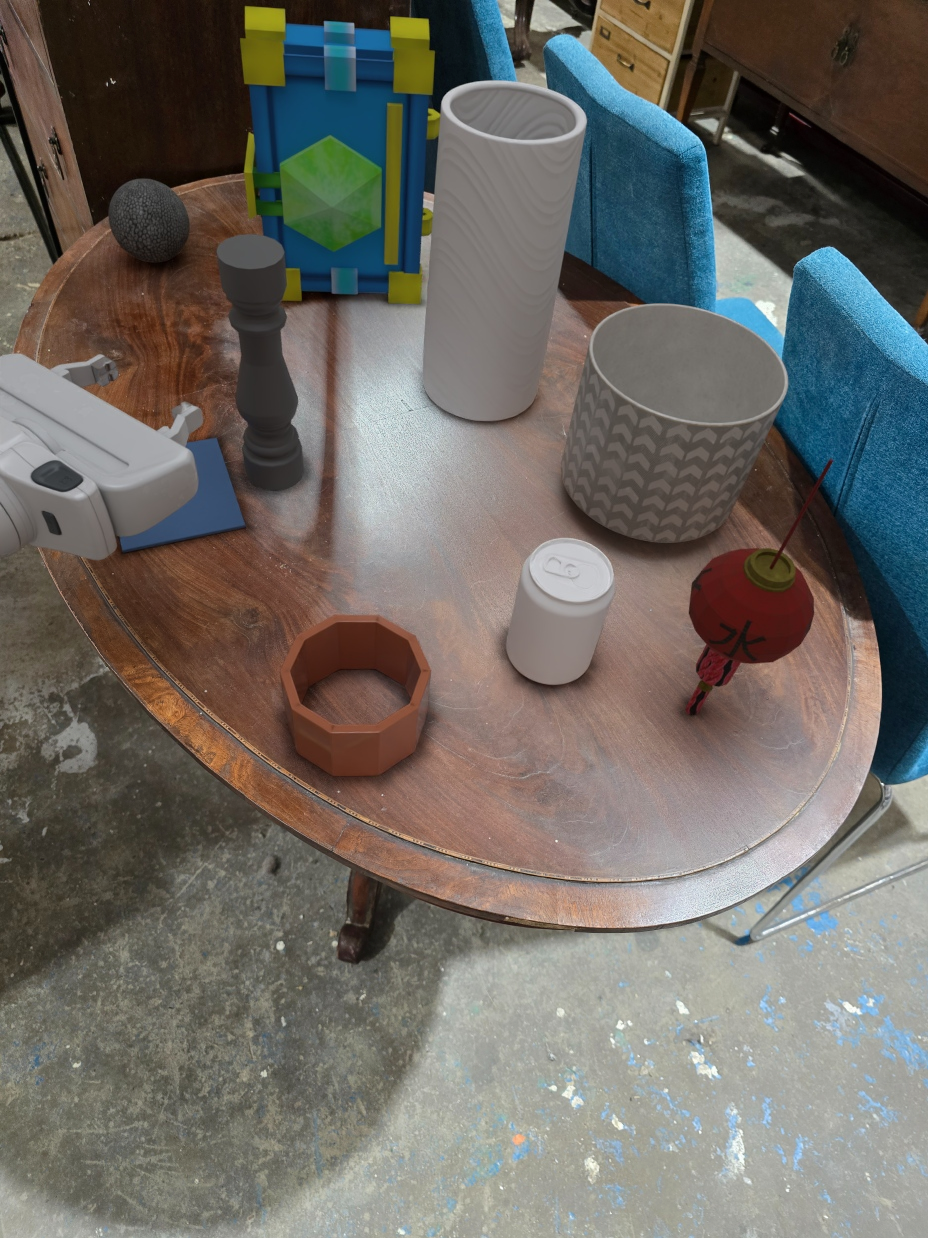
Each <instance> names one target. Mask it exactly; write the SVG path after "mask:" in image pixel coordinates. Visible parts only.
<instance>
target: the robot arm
mask: <svg viewBox="0 0 928 1238" xmlns="http://www.w3.org/2000/svg"><path fill="white" fill-rule="evenodd" d="M117 367H118V366H117V362H116V361H115V360H113V359H111V358H110V357H108V356H105V355H104V354H102V353H99V354H96V355H95V356H93V357H92V358H89V359H88V360H86V361H77V362H69V363H62V364H57V365H55V366H53V367H52V368H48V367H46V366H44V365H42V364H41V363H39V362H38V361H35V360H33V358H31V357H28V356H26V355H25V354H24V353H20V352H17V353H7V354H2V355H0V560H1V559H4V558H7V557H10V556H12V555H14V554H16V553H18V552H19V551H20V550H22V549H23V548H25V547H26V546H28V545H30V546H32V547H35V548H39V549H48V550H52V551H57V552H62V553H67V554H70V555H72V556H73V555H74V556H76V557H80V558H84V559H87V560H91V561H102V560H104V559H106V558H108V557H109V556H111V555H112V554H113V553H114V552H115V551H116V550H117V548H118V544H117V539H116V537H119V536H120V537H128V536H134V535H137V534H140V533H142V532H144V531H146V530H148V529H150V528H151V527H153V526H155V525H156V524H158V523H159V522H161V521H162V520H164V519H165V518H167V517H168V516H170V515H171V514H173V513H174V512H175V511H177V510H178V509H179V508H181V507H182V506H183V505H185V504H186V503H187V502H188V501H190V500H191V499H192V498H193V497H194V496H195V494H196V492H197V489H198V484H199V478H198V472H197V467H196V463H195V458H194V455H193V453H192V452H191V451H190V450H189V449H187V448H186V447H185V446H186V443H188V442H189V441H188V440H189V438H190V435H191V434H192V433H194V432H195V431H196V430H198V429H199V428H201V427H202V425H203V424H204V416H203V410H202V409H201V408H199V407H198V406H197V405H194V404H193V403H191V402H189V401H187V400H184V401H182V402H180V404H179V405H176V406H174V407H173V408H171V409H170V412H171V416H172V418H173V423H172V425H171V427H168V426H167V425H164V426H162V427H160V428H158V429H157V430H156V429H154V428H152V427H151V426H149V425H147V424H145V423H143V422H142V421H140V420H138V419H137V418H135V417H133V416H131V415H129V414H128V413H126V412H125V411H123V410H121V409H119V408H117V407H116V406H114V405H112V404H110V403H109V402H107V401H105V400H104V399H102V398H100V397H98V396H96V395H94V394H93V393H91V392H90V391H88V390H86V389H84V388H85V387H88V386H92V385H93V386H94V385H96V384H97V385H98V386H101V387H103V388H105V387H106V386H108V385H110V384H111V382H114V381H116V380H117V379H118V378H119V376H120V375H119V374H120V372H119V370H118V368H117Z"/></svg>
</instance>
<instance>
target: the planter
mask: <svg viewBox="0 0 928 1238" xmlns="http://www.w3.org/2000/svg"><path fill="white" fill-rule="evenodd" d="M585 354H586V355H585V358H584V362H583V367H582V371H581V376H580V380H579V385H578V389H577V392H576V396H575V402H574V406H573V410H572V414H571V418H570V422H569V428H568V432H567V437H566V439H565V440H566V441H565V444H564V448H563V452H562V457H561V462H560V474H561V480H562V483H563V486H564V488H565V490H566V492H567V494H568V495H569V497H570V498H571V500H572V502H574V504H575V505H576V506H577V507H578V508H579V509H580V510H581V511H582V512H583V513H584V514H585V515H587V516H588V517H589V518H591V519H592V520H593V521H594V522H596V523H598V524H600V525H601V526H603V527H604V528H607V529H608V530H610V531H613V532H615V533H617V534H619V535H623V536H625V537H628V538H632V539H635V540H640V541H643V542H649V543H661V544H674V543H684V542H691V541H693V540H698V539H700V538H703V537H705V536H707V535H710V534H711V533H714V531H716V530H718V529H719V528H720V527H721V526H722V525H723V524H725V522H726V521H727V520H728V519H729V517H730V516H731V514H732V512H733V509H734V507H735V505H736V503H737V501H738V500H739V497H740V494H741V492H742V490H743V488H744V487H745V483H746V482H747V479H748V478H749V475H750V473H751V471H752V469H753V467H754V465H755V462H756V461H757V459H758V455H759V454H760V451H761V450H762V447H763V446H764V443H765V441H766V439H767V437H768V434H769V432H770V430H771V428H772V426H773V423H774V422H775V419H776V417H777V415H778V413H779V411H780V408H781V407H782V404H783V402H784V399H785V398H786V396H787V393H788V389H789V377H788V371H787V368H786V365H785V363H784V361H783V360H782V357H780V355H779V354H778V353H777V351H776V349H774V347H772V345H771V344H770V343H769V342H768V341H766V339H764V338H763V337H762V336H760V335H759V334H758V333H757V332H755V331H754V330H752V329H750V328H749V327H747V326H745V325H743V324H742V323H741V322H738V321H737V320H734V319H733V318H730V317H727V316H725V315H723V314H720V313H717V312H714V311H711V310H708V309H704V308H700V307H695V306H691V305H686V304H685V305H684V304H675V303H647V304H638V305H633V306H629V307H626V308H623V309H620V310H618V311H615V312H613V313H612V314H610V315H608V316H606V317H605V318H604V319H602V320H601V321H600V322H599V323H598V324H597V325H596V327H594V329H593V331H592V333H591V336H590V338H589V342H588V346H587V351H586V353H585Z"/></svg>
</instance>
